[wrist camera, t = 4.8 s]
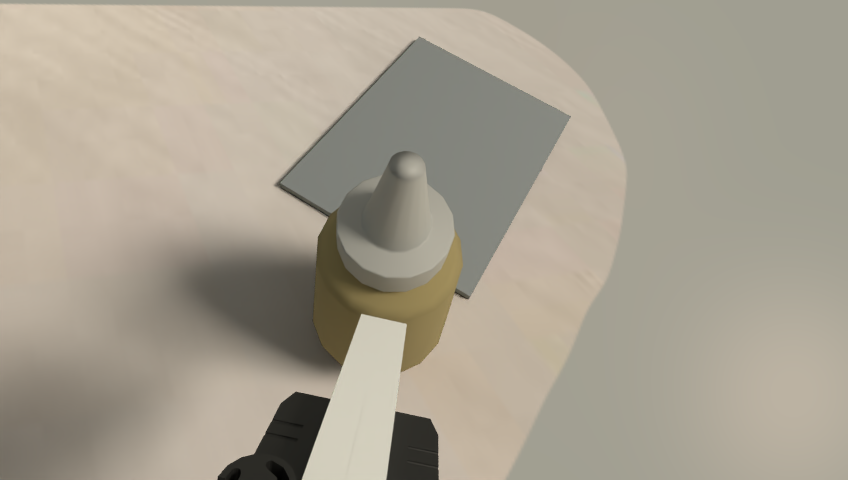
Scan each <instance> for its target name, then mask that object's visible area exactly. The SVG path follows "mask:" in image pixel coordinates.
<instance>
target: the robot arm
mask: <svg viewBox="0 0 848 480" xmlns="http://www.w3.org/2000/svg"><path fill="white" fill-rule="evenodd" d="M406 327H407V324H405V323H400V322H396V321H391V320H387V319H382V318H378V317H373V316H369V315H364V314H361V317H360V319H359V322H358V325H357V328H356V330H355V333H354V336H353V339H352V341H351V344H350V347H349V350H348V353H347V355H346V358H345V361H344V364H343V366H342V369H341V372H340V375H339V378H338V380H337V383H336V386H335V389H334V391H333V394H332V397H331V399H328V398H323V397H318V396H313V395H309V394H304V393H299V392H295V393H294V394H292V395H291V396H290V397H289V398H287V399H286V400H285V401H283V402H282V403H281V404H280V406H279V408H278V410H277V412H276V414H275V416H274V418H273V420H272V422H271V423H270V425H269V427H268V429H267V431H266V434H265V435H264V437H263V439H262V440H261V442H260V444H259V446H258V448H257V450H256V452H255V454H253V455H249V456H245V457H241V458H239V459H238V460H236V461H234V462H233V463H231V464H229V465H228V466H227V467H226V468H225V469H224V470H223V471H222V473H221V474H220V475H219V476H218V480H439V476H438V434H437V432H436V430H435V428H434V426H433V424H432V422H431V419H428V418H423V417H419V416H414V415H409V414H405V413H400V412H395V410H396V402H397V395H398V387H399V380H400V372H401V365H402V357H403V349H404V342H405V334H406Z"/></svg>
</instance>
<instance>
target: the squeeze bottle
mask: <svg viewBox="0 0 848 480" xmlns="http://www.w3.org/2000/svg"><path fill="white" fill-rule="evenodd" d="M462 267H463V260H462V250H461V240H460V238H459V236H458V234H457V233H456V231H455V229H454V220H453V214H452V212H451V211H450V209H449V207H448V205H447V203H446V201H445V200H444V198H443V197H442V196H441V195H440V194H439V193H438V192H436V191H435V190H434V189H433V188H432V187H431V186H429V185H428V184H427V177H426V166H425V162H424V161H423V159H422V158H421V157H420V156H419V155H418V154H416V153H413V152H411V151H401V152H398V153H396V154H394V155H393V156H392V157H391V159H390V161H389V163H388V165H387V167H386V169H385V171H384V173H383V175H381V176H377V177H374V178H371V179H368V180H364V181H362V182H361V183H360V184H359V185H357V186H356V187H355V188H353V189H352V190H351V191H350V192H348V193H347V194H346V196H345V198H344V200H343V202H342V204H341V205H340V207H339V208H338V209H336V210H335V211H334V212H333V213H331V214H330V216H329V218H328V220H327V222H326V223H325V225H324V227H323V229H322V231H321V233H320V234H319V236H318V246H317V261H316V277H315V293H314V310H313V323H314V325H315V328H316V331H317V334H318V336H319V339H320V342H321V344H322V346H323V347H324V348H325V349H326V350H327V351H328V352H329V353H330V354H331V355H332V356H333V357H334V358H335V359H336V360H337V361H338V362H339V363H340V364H341V365H342V366H343V364H344V361H345V358H346V355H347V353H348V350H349V347H350V344H351V341H352V339H353V336H354V333H355V330H356V328H357V325H358V322H359V319H360V317H361V314H364V315H369V316H373V317H378V318H382V319H387V320H391V321H396V322H400V323H405V324H407V327H406V334H405V342H404V349H403V357H402V365H401V372H402V371H405V370H407V369H409V368H411V367H413V366H415V365H417V364H420V363H421V362H422V361H423V360H424V358H425V357H426V356H427V355H428V354H429V353H430V352H431V351H432V350H433V348H434V347H435V346H436V345H437V344H438V342H439V339H440V336H441V333H442V330H443V327H444V324H445V321H446V318H447V315H448V312H449V308H450V305H451V302H452V299H453V296H454V292H455V289H456V286H457V283H458V280H459V277H460V273H461V270H462Z"/></svg>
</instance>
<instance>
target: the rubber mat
mask: <svg viewBox="0 0 848 480" xmlns="http://www.w3.org/2000/svg"><path fill="white" fill-rule="evenodd" d="M570 117H571V116H569V115H567V114H565V113H563V112H561V111H560V110H558V109H556V108H554V107H552V106H550V105H548V104H546V103H544V102H542V101H541V100H539V99H537V98H535V97H533V96H531V95H529V94H527V93H525V92H523V91H522V90H520V89H518V88H516V87H514V86H512V85H510V84H508V83H506V82H504V81H503V80H501V79H499V78H497V77H495V76H493V75H491V74H489V73H487V72H485V71H484V70H482V69H480V68H478V67H476V66H474V65H472V64H470V63H468V62H466V61H465V60H463V59H461V58H459V57H457V56H455V55H453V54H451V53H449V52H447V51H446V50H444V49H442V48H440V47H438V46H436V45H434V44H432V43H430V42H428V41H427V40H425V39H423V38H421V37H419V38H418V39H417V40H416V41H415V42H414V43H413V44H412V45H411V46H410V47H409V48H408V49H407V50H406V51H405V52H404V53H403V55H402V56H401V57H400V58H399V59H398V60H397V61H396V62H395V63H394V64H393V65H392V66H391V67H390V68H389V69H388V70H387V71H386V72H385V73H384V74H383V75H382V76H381V78H380V79H379V80H378V81H377V82H376V83H375V84H374V85H373V86H372V87H371V88H370V89H369V90H368V91H367V92H366V93H365V94H364V95H363V96H362V97H361V98H360V100H359V101H358V102H357V103H356V104H355V105H354V106H353V107H352V108H351V109H350V110H349V111H348V112H347V113H346V114H345V115H344V116H343V117H342V118H341V119H340V120H339V121H338V123H337V124H336V125H335V126H334V127H333V128H332V129H331V130H330V131H329V132H328V133H327V134H326V135H325V136H324V137H323V138H322V139H321V140H320V141H319V142H318V143H317V144H316V146H315V147H314V148H313V149H312V150H311V151H310V152H309V153H308V154H307V155H306V156H305V157H304V158H303V159H302V160H301V161H300V162H299V163H298V164H297V165H296V166H295V168H294V169H293V170H292V171H291V172H290V173H289V174H288V175H287V176H286V177H285V178H284V179H283V180H282V181H281V182H280V185H281V188H283V189H285V190H287V191H288V192H290V193H292V194H293V195H295V196H297V197H298V198H300V199H302V200H303V201H305V202H307V203H308V204H310V205H312V206H313V207H315V208H317V209H318V210H320V211H322V212H323V213H325V214H327V215H328V216H330V214H331V213H333V212H334V211H335V210H336V209H338V208H339V207H340V205H341V204H342V202H343V200H344V198H345V196H346V194H347V193H348V192H350V191H351V190H352V189H353V188H355V187H356V186H357V185H359V184H360V183H361V182H362V181H364V180H368V179H371V178H374V177H377V176H381V175H383V173H384V171H385V169H386V167H387V165H388V163H389V161H390V159H391V157H392V156H393V155H394V154H396V153H398V152H401V151H411V152H413V153H416V154H418V155H419V156H420V157H421V158H422V159H423V161H424V162H425V166H426V177H427V184H428V185H429V186H431V187H432V188H433V189H434V190H435V191H436V192H438V193H439V194H440V195H441V196H442V197H443V198H444V200H445V201H446V203H447V205H448V207H449V209H450V211H451V212H452V214H453V220H454V229H455V231H456V233H457V234H458V236H459V238H460V240H461V250H462V260H463V267H462V270H461V273H460V277H459V280H458V283H457V286H456V289H455V292H457V293H459V294H460V295H462V296H464V297H465V298H467V299H469V297H470V296H471V294H472V292H473V291H474V289H475V287H476V285H477V283H478V282H479V280H480V278H481V276H482V275H483V273H484V271H485V269H486V267H487V266H488V264H489V262H490V260H491V258H492V257H493V255H494V253H495V251H496V249H497V248H498V246H499V244H500V242H501V241H502V239H503V237H504V235H505V233H506V232H507V230H508V228H509V226H510V224H511V223H512V221H513V219H514V217H515V215H516V214H517V212H518V210H519V208H520V207H521V205H522V203H523V201H524V199H525V198H526V196H527V194H528V192H529V190H530V189H531V187H532V185H533V183H534V182H535V180H536V178H537V176H538V174H539V173H540V171H541V169H542V167H543V165H544V164H545V162H546V160H547V158H548V156H549V155H550V153H551V151H552V149H553V148H554V146H555V144H556V142H557V140H558V139H559V137H560V135H561V133H562V131H563V130H564V128H565V126H566V124H567V122H568V121H569V119H570Z"/></svg>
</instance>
